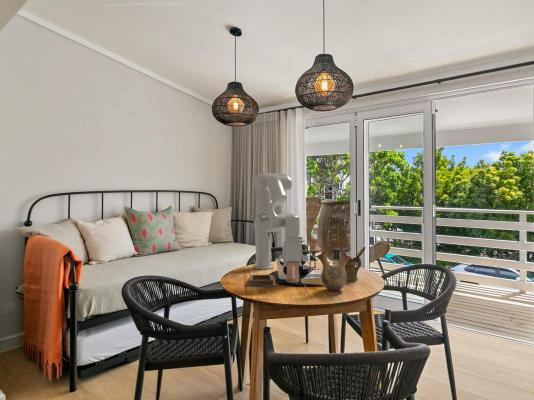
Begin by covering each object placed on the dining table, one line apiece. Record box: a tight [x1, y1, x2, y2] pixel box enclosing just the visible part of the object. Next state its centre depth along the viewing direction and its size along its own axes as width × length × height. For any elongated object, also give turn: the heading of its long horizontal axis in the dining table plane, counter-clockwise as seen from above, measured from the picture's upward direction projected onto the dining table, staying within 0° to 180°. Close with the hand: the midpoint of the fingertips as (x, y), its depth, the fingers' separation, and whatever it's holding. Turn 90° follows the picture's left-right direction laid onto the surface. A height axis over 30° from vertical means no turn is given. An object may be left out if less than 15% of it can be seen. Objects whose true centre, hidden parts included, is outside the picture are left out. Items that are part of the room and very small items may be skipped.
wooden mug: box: [345, 246, 366, 283], centre depth 178 cm, size 9×14×18 cm, turn 81°
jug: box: [285, 262, 300, 284], centre depth 168 cm, size 10×7×10 cm
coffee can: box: [332, 246, 351, 264], centre depth 195 cm, size 10×10×14 cm
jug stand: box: [246, 274, 277, 289], centre depth 170 cm, size 20×14×4 cm
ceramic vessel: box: [316, 238, 352, 292], centre depth 160 cm, size 16×9×25 cm, turn 82°
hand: (292, 273), depth 170 cm, fingers closed on jug, 6 cm apart
